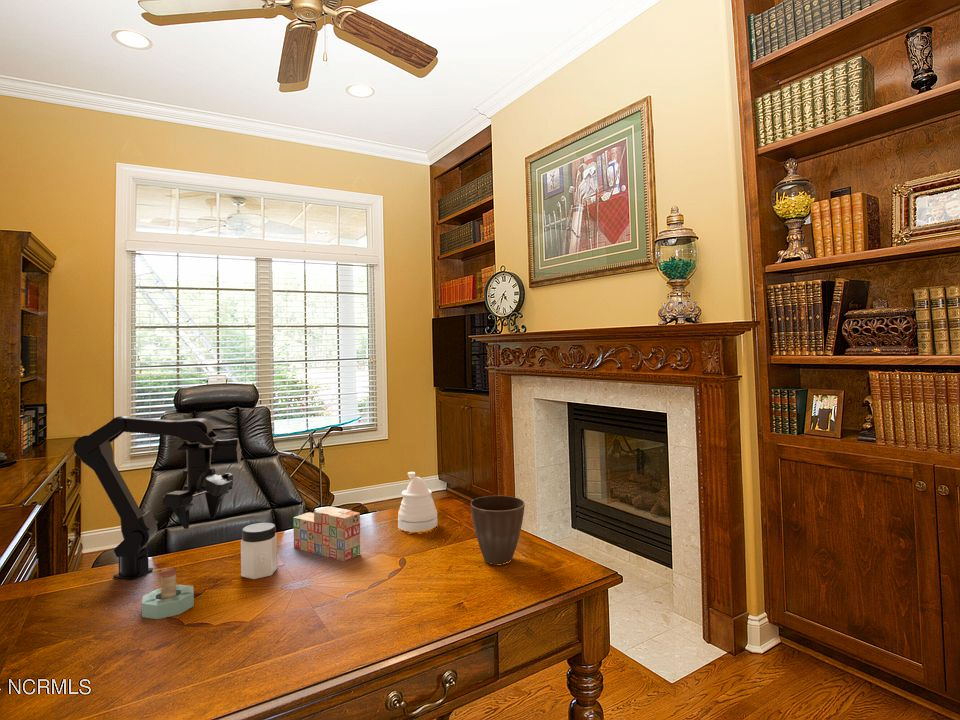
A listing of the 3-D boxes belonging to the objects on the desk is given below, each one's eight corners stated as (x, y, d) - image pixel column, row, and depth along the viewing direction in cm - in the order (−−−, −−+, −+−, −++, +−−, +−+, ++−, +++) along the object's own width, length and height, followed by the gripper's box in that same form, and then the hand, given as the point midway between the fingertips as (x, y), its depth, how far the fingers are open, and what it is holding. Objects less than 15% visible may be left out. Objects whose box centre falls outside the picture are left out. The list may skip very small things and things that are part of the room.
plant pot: (536, 562, 145) (536, 504, 145) (492, 576, 136) (491, 513, 136) (503, 547, 157) (503, 492, 157) (460, 558, 149) (460, 501, 149)
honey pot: (392, 532, 171) (392, 476, 171) (405, 520, 184) (404, 468, 184) (431, 534, 169) (431, 477, 169) (441, 522, 182) (440, 469, 182)
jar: (244, 582, 135) (243, 534, 135) (238, 571, 142) (237, 526, 142) (281, 573, 140) (280, 528, 140) (273, 564, 147) (273, 520, 146)
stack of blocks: (292, 548, 159) (292, 507, 159) (309, 542, 164) (309, 501, 164) (344, 562, 148) (344, 517, 148) (360, 554, 153) (360, 511, 153)
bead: (131, 615, 118) (131, 601, 118) (169, 595, 128) (169, 583, 128) (168, 620, 115) (167, 607, 115) (203, 600, 125) (203, 587, 125)
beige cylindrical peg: (158, 610, 120) (157, 572, 120) (169, 604, 123) (168, 567, 123) (168, 611, 120) (168, 573, 120) (179, 605, 122) (179, 568, 122)
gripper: (196, 474, 133) (197, 537, 133) (247, 460, 151) (248, 515, 151) (160, 472, 136) (161, 533, 136) (215, 458, 154) (216, 512, 154)
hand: (199, 523), depth 145 cm, fingers open, 9 cm apart
